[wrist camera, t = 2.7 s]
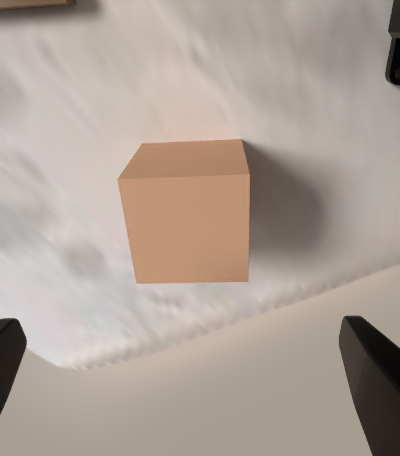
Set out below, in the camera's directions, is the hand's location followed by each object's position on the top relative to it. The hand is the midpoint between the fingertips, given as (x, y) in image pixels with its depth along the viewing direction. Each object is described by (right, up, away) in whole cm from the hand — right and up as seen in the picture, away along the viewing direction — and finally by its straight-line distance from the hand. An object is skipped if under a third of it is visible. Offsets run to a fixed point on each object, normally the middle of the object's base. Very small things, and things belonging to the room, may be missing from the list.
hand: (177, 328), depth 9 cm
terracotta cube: (0, +5, +9) cm, 10 cm away
